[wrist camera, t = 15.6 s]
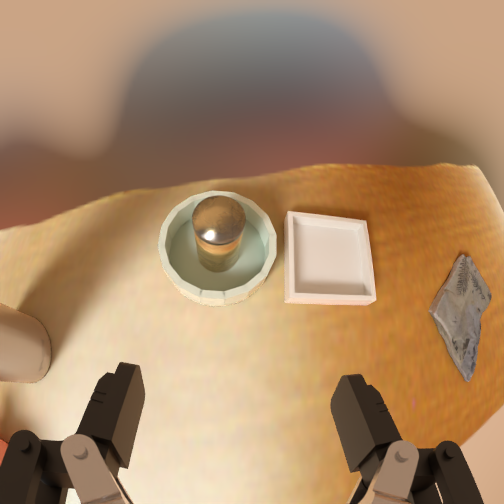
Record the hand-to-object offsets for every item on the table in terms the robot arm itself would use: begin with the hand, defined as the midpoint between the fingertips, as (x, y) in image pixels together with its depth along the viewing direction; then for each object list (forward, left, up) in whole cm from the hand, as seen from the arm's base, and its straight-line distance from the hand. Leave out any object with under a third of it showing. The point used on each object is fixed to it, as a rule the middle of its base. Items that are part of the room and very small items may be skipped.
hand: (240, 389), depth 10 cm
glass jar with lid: (-2, +14, -20) cm, 25 cm away
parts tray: (+12, +14, -21) cm, 28 cm away
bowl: (-2, +14, -21) cm, 26 cm away
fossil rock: (+38, +7, -22) cm, 44 cm away
